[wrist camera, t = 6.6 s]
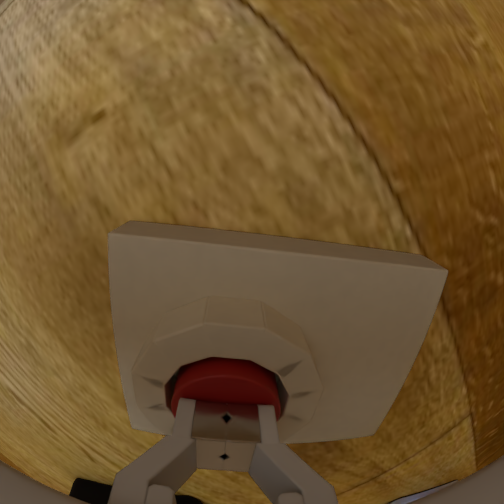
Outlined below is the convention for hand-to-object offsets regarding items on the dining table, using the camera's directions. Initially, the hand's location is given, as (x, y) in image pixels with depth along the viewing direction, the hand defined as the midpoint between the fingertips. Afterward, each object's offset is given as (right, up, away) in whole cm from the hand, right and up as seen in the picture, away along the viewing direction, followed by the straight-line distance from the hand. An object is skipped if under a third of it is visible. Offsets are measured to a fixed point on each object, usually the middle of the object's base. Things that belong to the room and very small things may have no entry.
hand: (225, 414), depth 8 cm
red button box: (+2, +1, +4) cm, 5 cm away
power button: (0, 0, +2) cm, 2 cm away
